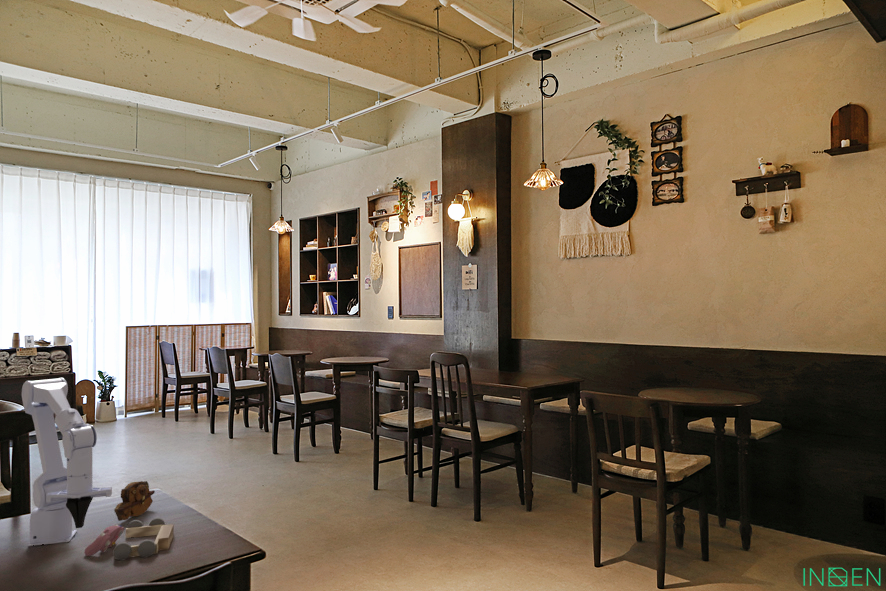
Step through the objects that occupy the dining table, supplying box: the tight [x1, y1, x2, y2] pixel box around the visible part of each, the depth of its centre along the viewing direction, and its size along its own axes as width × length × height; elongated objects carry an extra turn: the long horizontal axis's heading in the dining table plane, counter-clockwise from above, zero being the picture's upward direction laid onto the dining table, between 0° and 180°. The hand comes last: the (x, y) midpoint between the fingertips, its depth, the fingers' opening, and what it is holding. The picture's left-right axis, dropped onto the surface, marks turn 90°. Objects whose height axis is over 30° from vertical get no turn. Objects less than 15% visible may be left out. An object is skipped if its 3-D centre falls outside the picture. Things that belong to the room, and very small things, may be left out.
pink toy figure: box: [83, 524, 125, 557], centre depth 158 cm, size 10×5×7 cm, turn 179°
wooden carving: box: [114, 480, 156, 522], centre depth 183 cm, size 16×5×10 cm, turn 178°
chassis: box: [112, 517, 175, 561], centre depth 161 cm, size 12×18×4 cm
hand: (79, 526), depth 156 cm, fingers closed
